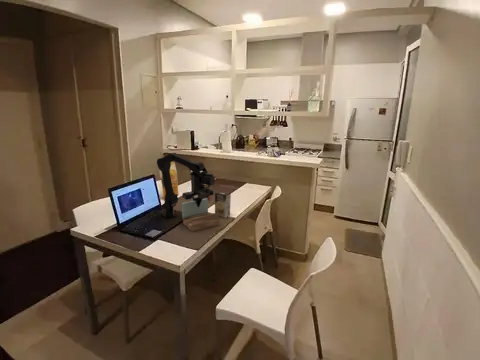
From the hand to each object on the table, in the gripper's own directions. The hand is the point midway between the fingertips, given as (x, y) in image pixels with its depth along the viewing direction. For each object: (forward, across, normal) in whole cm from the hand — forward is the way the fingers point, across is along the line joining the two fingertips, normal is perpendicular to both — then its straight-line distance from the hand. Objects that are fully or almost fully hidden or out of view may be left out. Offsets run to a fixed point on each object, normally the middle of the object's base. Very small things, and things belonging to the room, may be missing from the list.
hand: (198, 206), depth 169 cm
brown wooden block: (+10, 0, -3) cm, 11 cm away
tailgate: (+8, 0, +4) cm, 9 cm away
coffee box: (+11, +19, +2) cm, 22 cm away
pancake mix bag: (+11, +2, +55) cm, 56 cm away
